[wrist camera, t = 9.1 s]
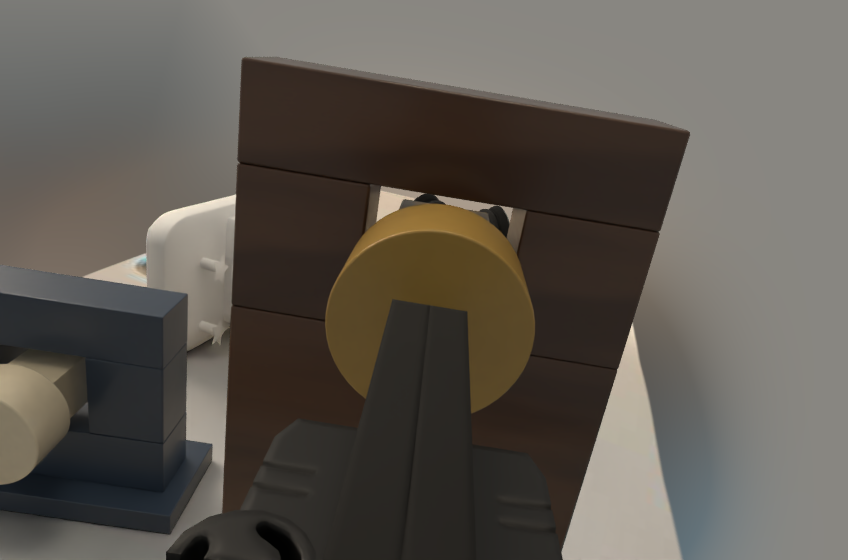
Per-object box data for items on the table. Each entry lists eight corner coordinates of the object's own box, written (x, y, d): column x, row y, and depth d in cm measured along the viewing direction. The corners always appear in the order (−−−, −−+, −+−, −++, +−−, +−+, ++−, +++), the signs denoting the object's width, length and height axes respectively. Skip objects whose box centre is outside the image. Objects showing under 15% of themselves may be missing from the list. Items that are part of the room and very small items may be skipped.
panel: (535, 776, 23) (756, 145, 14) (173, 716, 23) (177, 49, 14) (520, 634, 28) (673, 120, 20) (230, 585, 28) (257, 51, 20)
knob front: (511, 436, 14) (557, 250, 13) (315, 403, 14) (335, 213, 13) (496, 323, 21) (526, 187, 19) (358, 300, 21) (376, 162, 19)
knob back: (41, 493, 27) (33, 401, 25) (-68, 477, 26) (-84, 384, 25) (116, 411, 33) (113, 332, 31) (28, 398, 33) (20, 318, 31)
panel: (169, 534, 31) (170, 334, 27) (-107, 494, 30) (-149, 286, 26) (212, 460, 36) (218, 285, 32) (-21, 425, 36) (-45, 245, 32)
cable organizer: (259, 405, 42) (269, 250, 38) (140, 360, 45) (137, 212, 41) (356, 329, 55) (371, 208, 51) (259, 298, 58) (266, 181, 54)
